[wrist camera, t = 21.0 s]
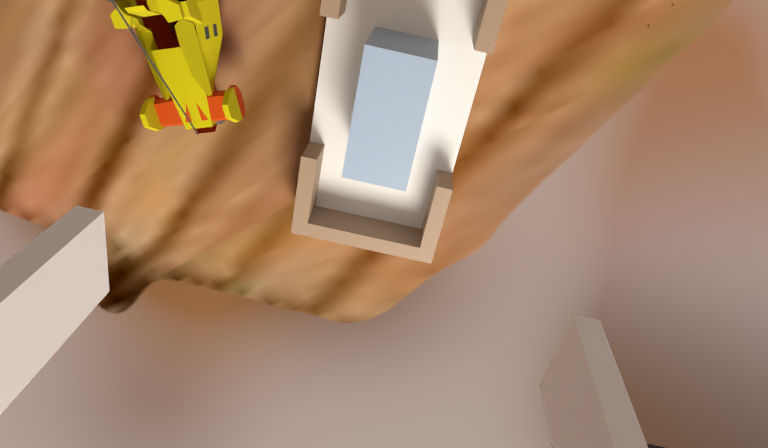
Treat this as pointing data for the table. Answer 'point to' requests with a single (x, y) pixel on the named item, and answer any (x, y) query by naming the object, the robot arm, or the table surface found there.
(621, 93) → the table surface
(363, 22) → the jig
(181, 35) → the toy boat
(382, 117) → the block
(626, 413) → the robot arm
